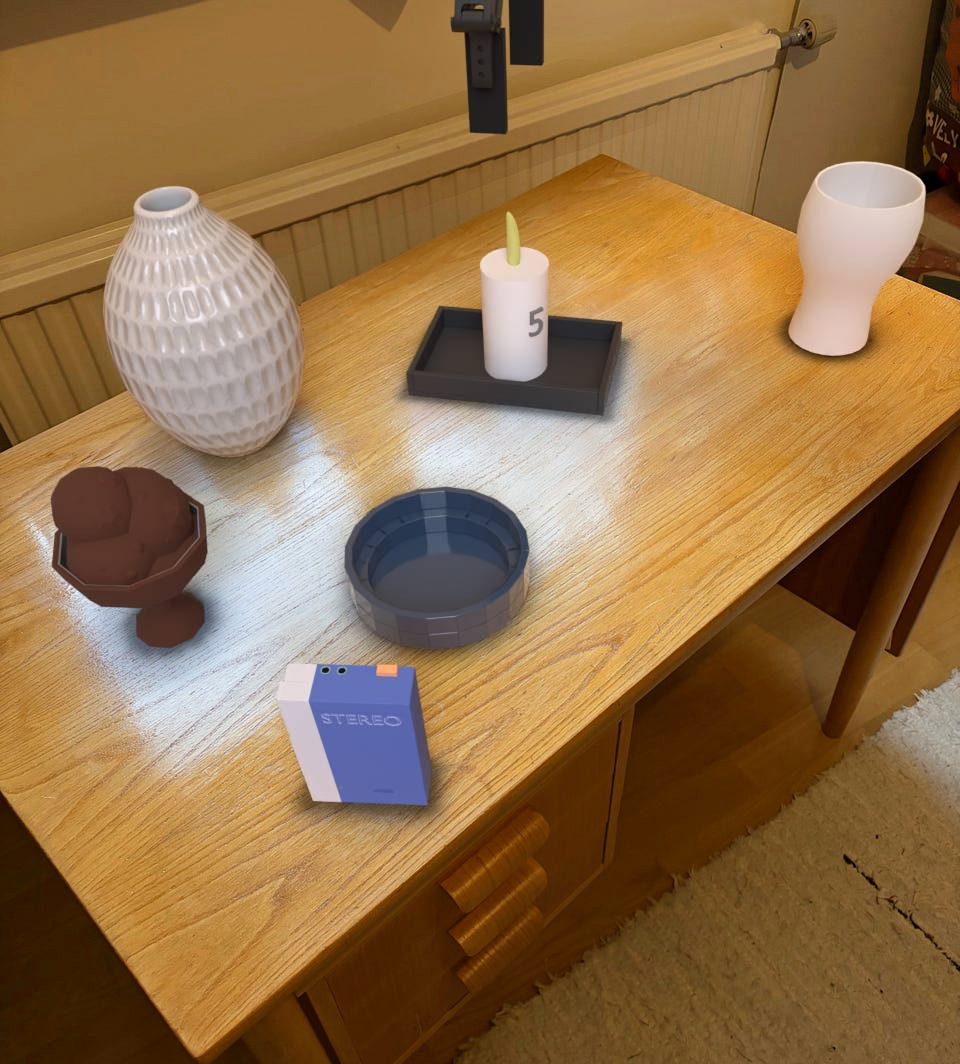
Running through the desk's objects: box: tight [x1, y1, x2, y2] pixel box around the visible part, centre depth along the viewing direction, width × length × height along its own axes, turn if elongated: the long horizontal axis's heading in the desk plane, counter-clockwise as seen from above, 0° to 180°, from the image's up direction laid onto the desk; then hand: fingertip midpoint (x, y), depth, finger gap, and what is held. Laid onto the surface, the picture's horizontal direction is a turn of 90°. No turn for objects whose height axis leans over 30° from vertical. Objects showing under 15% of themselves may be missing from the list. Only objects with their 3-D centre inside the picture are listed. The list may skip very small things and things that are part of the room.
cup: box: [787, 161, 927, 357], centre depth 87 cm, size 11×11×15 cm
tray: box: [406, 305, 623, 416], centre depth 90 cm, size 19×12×2 cm, turn 77°
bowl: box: [343, 486, 531, 651], centre depth 71 cm, size 14×14×4 cm
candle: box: [479, 211, 550, 382], centre depth 85 cm, size 6×6×15 cm
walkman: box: [275, 662, 433, 806], centre depth 57 cm, size 8×3×12 cm, turn 86°
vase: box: [102, 185, 306, 459], centre depth 78 cm, size 16×16×22 cm
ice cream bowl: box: [50, 465, 209, 649], centre depth 66 cm, size 11×11×15 cm
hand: (509, 96), depth 71 cm, fingers open, 13 cm apart
